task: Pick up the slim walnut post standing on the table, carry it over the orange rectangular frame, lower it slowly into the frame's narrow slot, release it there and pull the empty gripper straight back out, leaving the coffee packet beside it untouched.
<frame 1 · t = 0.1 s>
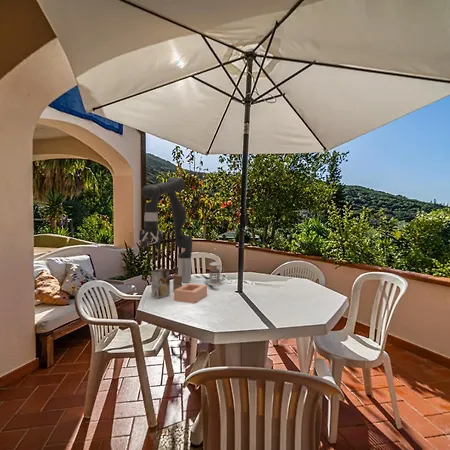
hand: (150, 248, 184), 29 cm above the table, tool pointing down, fingers open, 8 cm apart
orange rectangular frame: (190, 297, 187), on the table
walnut post: (177, 291, 201), on the table
french press: (215, 283, 224), on the table
coffee box: (160, 296, 189), on the table
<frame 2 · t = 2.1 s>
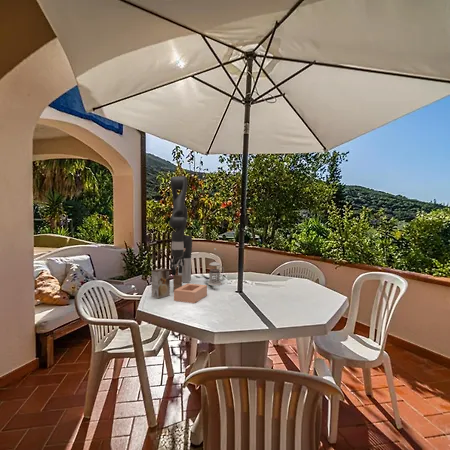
hand: (177, 274, 200), 11 cm above the table, tool pointing down, fingers open, 8 cm apart
nothing on the table moved.
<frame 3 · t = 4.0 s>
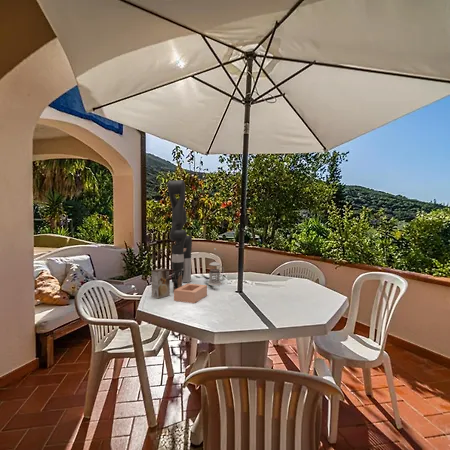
hand: (177, 287, 201), 2 cm above the table, tool pointing down, fingers closed on walnut post, 4 cm apart
walnut post: (177, 291, 201), on the table, touching gripper
everything else where it was.
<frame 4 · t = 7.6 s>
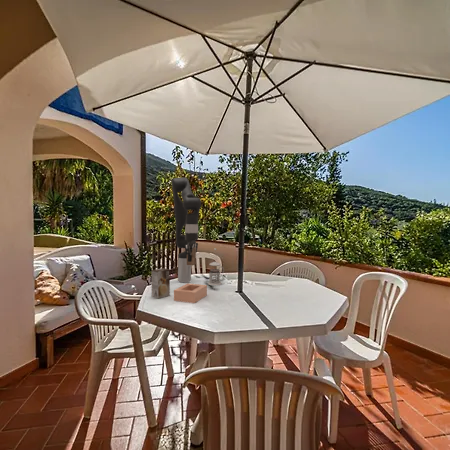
hand: (191, 260, 186), 22 cm above the table, tool pointing down, fingers closed on walnut post, 4 cm apart
walnut post: (191, 264, 186), point 20 cm above the table, touching gripper
everything else where it was.
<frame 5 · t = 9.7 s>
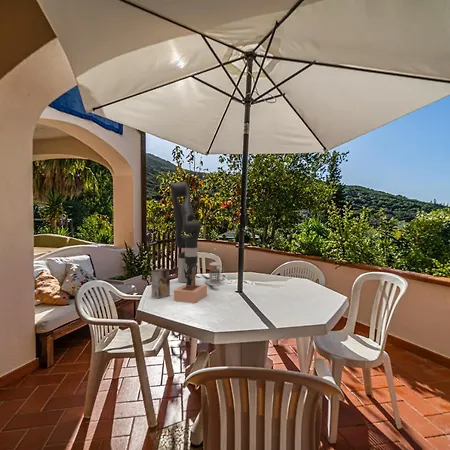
hand: (190, 284, 187), 8 cm above the table, tool pointing down, fingers closed on walnut post, 4 cm apart
walnut post: (190, 287, 187), point 6 cm above the table, touching gripper
everything else where it was.
when the fingers open (4 cm above the table, at t = 11.5 s): walnut post drops 1 cm, resting in orange rectangular frame.
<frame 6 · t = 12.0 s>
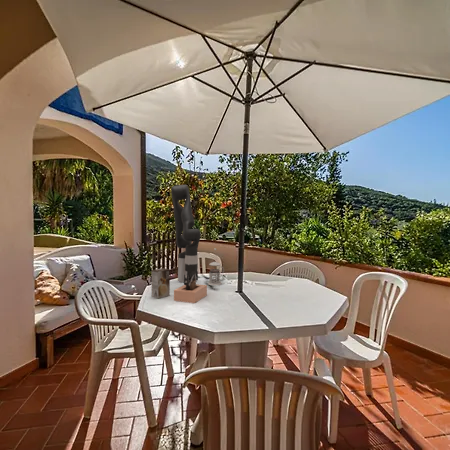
hand: (191, 290, 187), 5 cm above the table, tool pointing down, fingers open, 8 cm apart
walnut post: (190, 297, 187), resting in orange rectangular frame
everything else where it was.
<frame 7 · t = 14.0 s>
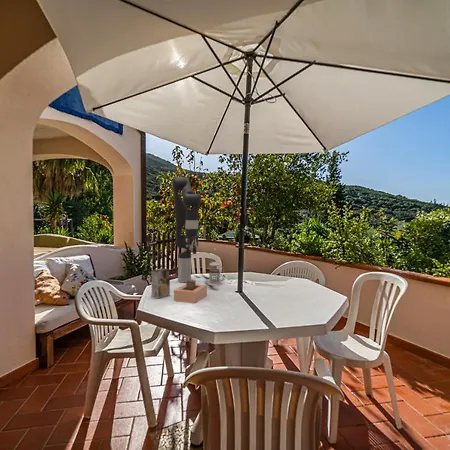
hand: (191, 255, 188), 25 cm above the table, tool pointing down, fingers open, 8 cm apart
nothing on the table moved.
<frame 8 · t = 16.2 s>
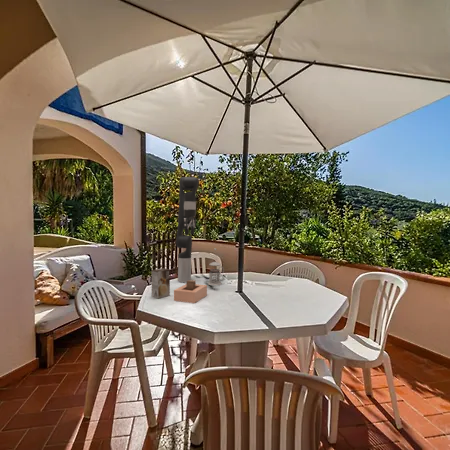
hand: (189, 234, 201), 36 cm above the table, tool pointing down, fingers open, 8 cm apart
nothing on the table moved.
at the end: walnut post inside the target area on the orange rectangular frame (0.1 cm from its centre), point 0.0 cm above the orange rectangular frame's base; walnut post tilted 0°; the gripper is holding nothing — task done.
